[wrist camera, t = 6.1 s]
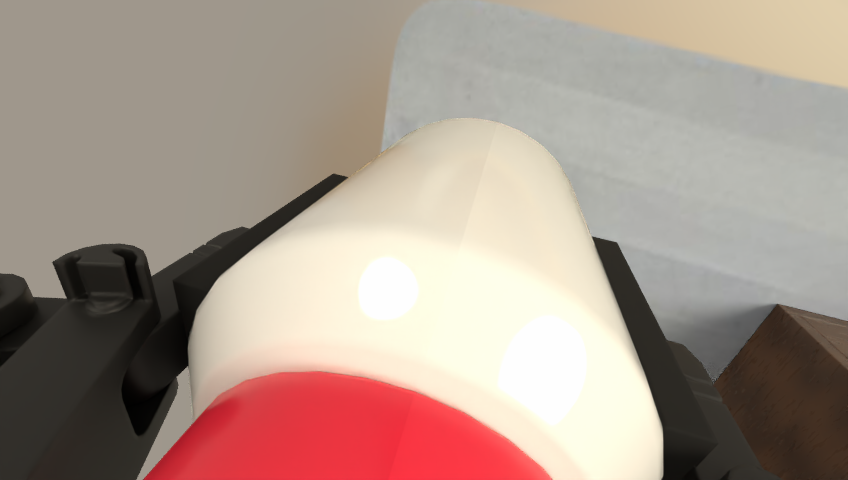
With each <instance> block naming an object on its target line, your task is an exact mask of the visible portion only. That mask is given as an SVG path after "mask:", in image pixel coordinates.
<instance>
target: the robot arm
mask: <svg viewBox="0 0 848 480" xmlns="http://www.w3.org/2000/svg"><path fill="white" fill-rule="evenodd" d="M347 178H349V177H345V176H341V175H337V174H332V175H331V176H329V177H327V178H326V179H324V180H323V181H322V182H320V183H318V184H317V185H315V186H314V187H312V188H311V189H309V190H308V191H306V192H305V193H303V194H302V195H300V196H299V197H297V198H296V199H294V200H293V201H291V202H290V203H288V204H287V205H285V206H284V207H282V208H281V209H279V210H278V211H276V212H275V213H273V214H272V215H270V216H269V217H267V218H266V219H264V220H263V221H261V222H260V223H258V224H256V225H255V226H254V227H252V228H251V229H248V228H245V227H240V228H237V229H233V230H231V231H227V232H224V233H221V234H220V235H218V236H217V237H215V238H213V239H212V240H210V241H208V242H207V243H206V245H202V246H200V247H199V248H197V249H195V250H194V251H193V253H189V254H187V255H186V256H184V257H182V258H181V259H179V260H178V261H176V262H174V263H173V264H171V265H169V266H168V267H166V268H165V269H163V270H161V271H160V272H158V273H156V274H155V275H153V276H151V274H150V269H149V266H148V262H147V258H146V256H145V253H144V251H143V250H141V249H139V248H137V247H135V246H131V245H125V244H102V245H96V246H91V247H85V248H82V249H79V250H76V251H73V252H70V253H67V254H65V255H63V256H62V257H60V258H59V259H57V260H55V261H53V265H54V267H55V270H56V272H57V275H58V277H59V280H60V282H61V285H62V287H63V290H64V292H65V295H66V297H67V299H63V298H40V297H33V296H32V294H31V291H30V289H29V287H28V285H27V283H26V281H25V279H24V278H22V277H19V276H16V275H14V274H0V480H136V479H137V477H138V475H139V473H140V471H141V468H142V466H143V464H144V462H145V460H146V458H147V456H148V454H149V451H150V449H151V447H152V445H153V443H154V441H155V439H156V437H157V435H158V432H159V430H160V428H161V426H162V424H163V422H164V420H165V417H166V415H167V413H168V411H169V409H170V407H171V405H172V403H173V401H174V398H175V396H176V394H177V389H178V382H177V378H176V377H177V376H178V375H179V374H180V373H181V372H182V371H183V370H184V369H185V368H186V367H187V366H188V339H189V336H190V332H191V328H192V325H193V321H194V318H195V314H196V310H197V309H198V307H199V306H200V304H201V303H202V301H203V300H204V298H205V297H206V295H207V294H208V292H209V291H210V289H211V288H212V286H213V285H214V283H215V282H216V281H217V279H218V278H219V276H220V275H221V274H223V273H224V272H225V271H226V270H228V269H229V268H230V267H231V266H233V265H234V264H235V263H236V262H238V261H239V260H240V259H241V258H243V257H244V256H245V255H246V254H248V253H249V252H250V251H251V250H253V249H254V248H255V247H256V246H258V245H259V244H260V243H262V242H263V241H264V240H266V239H267V238H268V237H270V236H271V235H272V234H274V233H275V232H276V231H278V230H279V229H280V228H282V227H283V226H284V225H286V224H287V223H288V222H290V221H291V220H292V219H294V218H295V217H296V216H298V215H299V214H300V213H302V212H303V211H304V210H306V209H307V208H308V207H310V206H311V205H312V204H314V203H315V202H316V201H318V200H319V199H320V198H322V197H323V196H324V195H326V194H327V193H328V192H330V191H331V190H333V189H334V188H335V187H337V186H338V185H339V184H341V183H342V182H343V181H345V180H346V179H347ZM592 239H593V241H594V244H595V247H596V249H597V252H598V254H599V257H600V259H601V262H602V265H603V267H604V270H605V272H606V275H607V277H608V280H609V283H610V285H611V288H612V290H613V293H614V296H615V298H616V301H617V303H618V306H619V308H620V311H621V314H622V316H623V319H624V321H625V324H626V326H627V329H628V332H629V334H630V337H631V339H632V342H633V344H634V347H635V350H636V352H637V355H638V357H639V360H640V363H641V365H642V368H643V370H644V373H645V376H646V379H647V382H648V385H649V388H650V391H651V394H652V397H653V400H654V403H655V406H656V409H657V412H658V415H659V418H660V421H661V424H662V427H663V478H662V480H783V479H781V478H780V477H778V476H777V475H775V474H773V473H771V472H769V471H766V470H764V469H763V468H762V466H761V464H760V463H759V461H758V459H757V457H756V456H755V454H754V452H753V451H752V449H751V447H750V445H749V444H748V442H747V440H746V439H745V437H744V435H743V433H742V432H741V430H740V428H739V427H738V425H737V423H736V421H735V420H734V418H733V416H732V414H731V413H730V411H729V409H728V408H727V406H726V404H723V403H722V401H723V399H722V397H721V396H720V394H719V392H718V390H717V389H716V387H713V382H712V380H711V378H710V377H709V375H708V373H707V372H706V370H705V368H704V366H703V365H702V363H701V362H700V361H699V360H698V359H697V358H696V357H695V356H694V355H693V354H692V353H691V352H690V351H689V350H688V349H687V348H686V347H685V346H684V345H682V344H679V343H675V342H671V341H667V340H666V338H665V336H664V334H663V332H662V330H661V328H660V327H659V325H658V323H657V321H656V319H655V317H654V315H653V313H652V311H651V309H650V307H649V305H648V303H647V301H646V299H645V297H644V295H643V293H642V291H641V289H640V287H639V285H638V283H637V281H636V279H635V277H634V275H633V273H632V271H631V269H630V267H629V265H628V264H627V262H626V260H625V258H624V256H623V254H622V252H621V250H620V248H619V246H618V244H617V242H612V241H608V240H604V239H600V238H596V237H592Z"/></svg>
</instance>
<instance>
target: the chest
mask: <svg viewBox="0 0 848 480" xmlns="http://www.w3.org/2000/svg"><path fill="white" fill-rule="evenodd" d="M713 387H716V389H717V390H718V392H719V394H720V396H721V397H722V399H723V401H722V403H723V404H726V406H727V408H728V409H729V411H730V413H731V414H732V416H733V418H734V420H735V421H736V423H737V425H738V427H739V428H740V430H741V432H742V433H743V435H744V437H745V439H746V440H747V442H748V444H749V445H750V447H751V449H752V451H753V452H754V454H755V456H756V457H757V459H758V461H759V463H760V464H761V466H762V468H763V469H764V470H766V471H769V472H771V473H773V474H775V475H777V476H778V477H780V478H781V479H783V480H848V321H844V320H840V319H836V318H832V317H828V316H824V315H820V314H816V313H812V312H808V311H804V310H800V309H796V308H792V307H788V306H784V305H780V304H777V306H776V307H775V308H774V309H773V311H772V312H771V313H770V314H769V316H768V317H767V318H766V319H765V321H764V322H763V323H762V324H761V326H760V327H759V328H758V329H757V331H756V332H755V333H754V334H753V336H752V337H751V338H750V339H749V341H748V342H747V343H746V344H745V346H744V347H743V348H742V349H741V351H740V352H739V353H738V354H737V356H736V357H735V358H734V359H733V361H732V362H731V363H730V364H729V366H728V367H727V368H726V369H725V371H724V372H723V373H722V374H721V376H720V377H719V378H718V379H717V381H716V382H715V383H714V384H713Z"/></svg>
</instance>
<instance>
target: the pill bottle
mask: <svg viewBox="0 0 848 480" xmlns="http://www.w3.org/2000/svg"><path fill="white" fill-rule="evenodd" d="M188 371H189V373H188V376H189V387H190V398H191V411H192V421H193V422H192V423H193V424H192V425H191V426H190V427H189V428H188V429H187V430H186V432H185V433H184V434H183V435H182V436H181V437H180V438H179V440H178V441H177V442H176V443H175V444H174V445H173V446H172V447H171V449H170V450H169V451H168V452H167V453H166V454H165V455H164V456H163V458H162V459H161V460H160V461H159V462H158V463H157V464H156V466H155V467H154V468H153V469H152V470H151V471H150V472H149V474H148V475H147V476H146V477H145V478H144V479H143V480H662V478H663V427H662V424H661V421H660V418H659V415H658V412H657V409H656V406H655V403H654V400H653V397H652V394H651V391H650V388H649V385H648V382H647V379H646V376H645V373H644V370H643V368H642V365H641V363H640V360H639V357H638V355H637V352H636V350H635V347H634V344H633V342H632V339H631V337H630V334H629V332H628V329H627V326H626V324H625V321H624V319H623V316H622V314H621V311H620V308H619V306H618V303H617V301H616V298H615V296H614V293H613V290H612V288H611V285H610V283H609V280H608V277H607V275H606V272H605V270H604V267H603V265H602V262H601V259H600V257H599V254H598V252H597V249H596V247H595V244H594V241H593V239H592V236H591V234H590V231H589V229H588V226H587V223H586V221H585V218H584V216H583V213H582V210H581V208H580V205H579V203H578V200H577V198H576V195H575V192H574V190H573V187H572V185H571V182H570V180H569V179H568V177H567V176H566V174H565V172H564V171H563V169H562V168H561V166H560V164H559V163H558V161H557V160H556V159H555V158H554V157H553V156H552V155H551V154H550V153H549V152H548V151H547V150H546V149H545V148H544V147H543V146H542V145H541V144H540V143H538V142H537V141H535V140H533V139H532V138H530V137H529V136H527V135H526V134H524V133H523V132H521V131H519V130H517V129H514V128H512V127H509V126H506V125H504V124H501V123H499V122H494V121H488V120H483V119H477V118H458V119H447V120H443V121H439V122H435V123H431V124H427V125H425V126H423V127H421V128H419V129H416V130H414V131H412V132H410V133H408V134H406V135H405V136H403V137H402V138H401V139H399V140H398V141H397V142H395V143H394V144H393V145H391V146H390V147H389V148H387V149H386V150H385V151H383V152H382V153H381V154H379V155H378V156H377V157H375V158H374V159H373V160H371V161H370V162H369V163H367V164H366V165H365V166H363V167H362V168H361V169H359V170H358V171H357V172H355V173H354V174H353V175H351V176H350V177H349V178H347V179H346V180H345V181H343V182H342V183H341V184H339V185H338V186H337V187H335V188H334V189H333V190H331V191H330V192H328V193H327V194H326V195H324V196H323V197H322V198H320V199H319V200H318V201H316V202H315V203H314V204H312V205H311V206H310V207H308V208H307V209H306V210H304V211H303V212H302V213H300V214H299V215H298V216H296V217H295V218H294V219H292V220H291V221H290V222H288V223H287V224H286V225H284V226H283V227H282V228H280V229H279V230H278V231H276V232H275V233H274V234H272V235H271V236H270V237H268V238H267V239H266V240H264V241H263V242H262V243H260V244H259V245H258V246H256V247H255V248H254V249H253V250H251V251H250V252H249V253H248V254H246V255H245V256H244V257H243V258H241V259H240V260H239V261H238V262H236V263H235V264H234V265H233V266H231V267H230V268H229V269H228V270H226V271H225V272H224V273H223V274H221V275H220V276H219V278H218V279H217V281H216V282H215V283H214V285H213V286H212V288H211V289H210V291H209V292H208V294H207V295H206V297H205V298H204V300H203V301H202V303H201V304H200V306H199V307H198V309H197V310H196V314H195V318H194V321H193V325H192V328H191V332H190V336H189V339H188Z"/></svg>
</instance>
